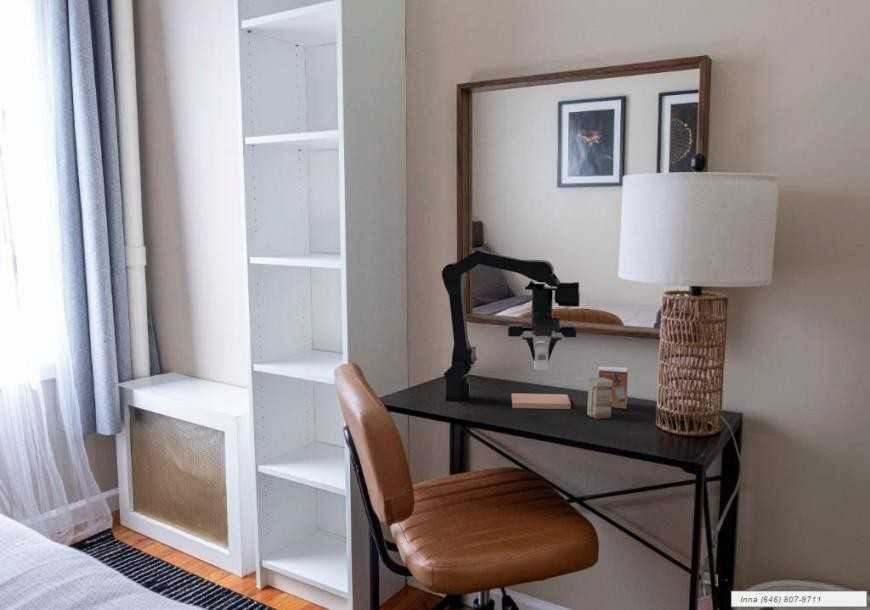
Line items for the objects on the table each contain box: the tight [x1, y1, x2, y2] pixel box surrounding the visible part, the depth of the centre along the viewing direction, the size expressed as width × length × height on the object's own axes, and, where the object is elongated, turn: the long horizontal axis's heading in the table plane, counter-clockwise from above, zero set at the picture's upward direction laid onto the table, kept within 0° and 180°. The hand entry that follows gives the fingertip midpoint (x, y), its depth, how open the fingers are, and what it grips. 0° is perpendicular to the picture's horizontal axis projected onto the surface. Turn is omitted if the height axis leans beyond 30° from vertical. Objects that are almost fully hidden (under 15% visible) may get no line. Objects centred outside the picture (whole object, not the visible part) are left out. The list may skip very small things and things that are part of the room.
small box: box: [597, 366, 629, 409], centre depth 202 cm, size 8×6×10 cm
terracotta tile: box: [511, 393, 572, 410], centre depth 204 cm, size 16×10×2 cm, turn 85°
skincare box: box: [586, 377, 613, 420], centre depth 192 cm, size 5×4×10 cm
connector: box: [533, 340, 549, 371], centre depth 202 cm, size 4×6×7 cm, turn 175°
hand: (540, 360), depth 203 cm, fingers closed on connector, 4 cm apart
